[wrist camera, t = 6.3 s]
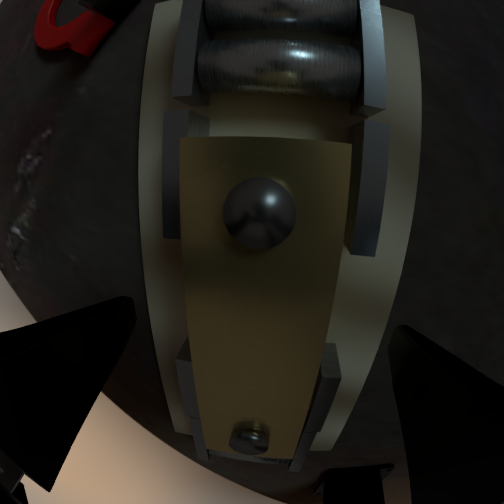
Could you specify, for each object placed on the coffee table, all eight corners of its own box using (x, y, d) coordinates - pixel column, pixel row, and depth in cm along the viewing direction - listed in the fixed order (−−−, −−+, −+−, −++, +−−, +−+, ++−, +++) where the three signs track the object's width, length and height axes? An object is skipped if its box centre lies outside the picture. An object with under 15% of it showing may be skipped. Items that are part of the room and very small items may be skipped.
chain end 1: (199, 0, 7) (181, -27, 5) (367, 6, 7) (382, -21, 5) (185, 221, 11) (160, 237, 9) (360, 236, 10) (377, 257, 8)
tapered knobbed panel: (295, 385, 13) (292, 466, 8) (227, 378, 13) (203, 456, 9) (324, 150, 9) (356, 142, 5) (226, 145, 10) (172, 136, 5)
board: (330, 439, 16) (330, 450, 15) (179, 421, 17) (175, 431, 16) (405, 23, 7) (413, 15, 6) (164, 12, 8) (155, 3, 8)
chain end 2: (302, 448, 15) (301, 475, 13) (203, 436, 16) (194, 461, 13) (337, 343, 12) (344, 378, 9) (190, 327, 12) (172, 358, 10)
